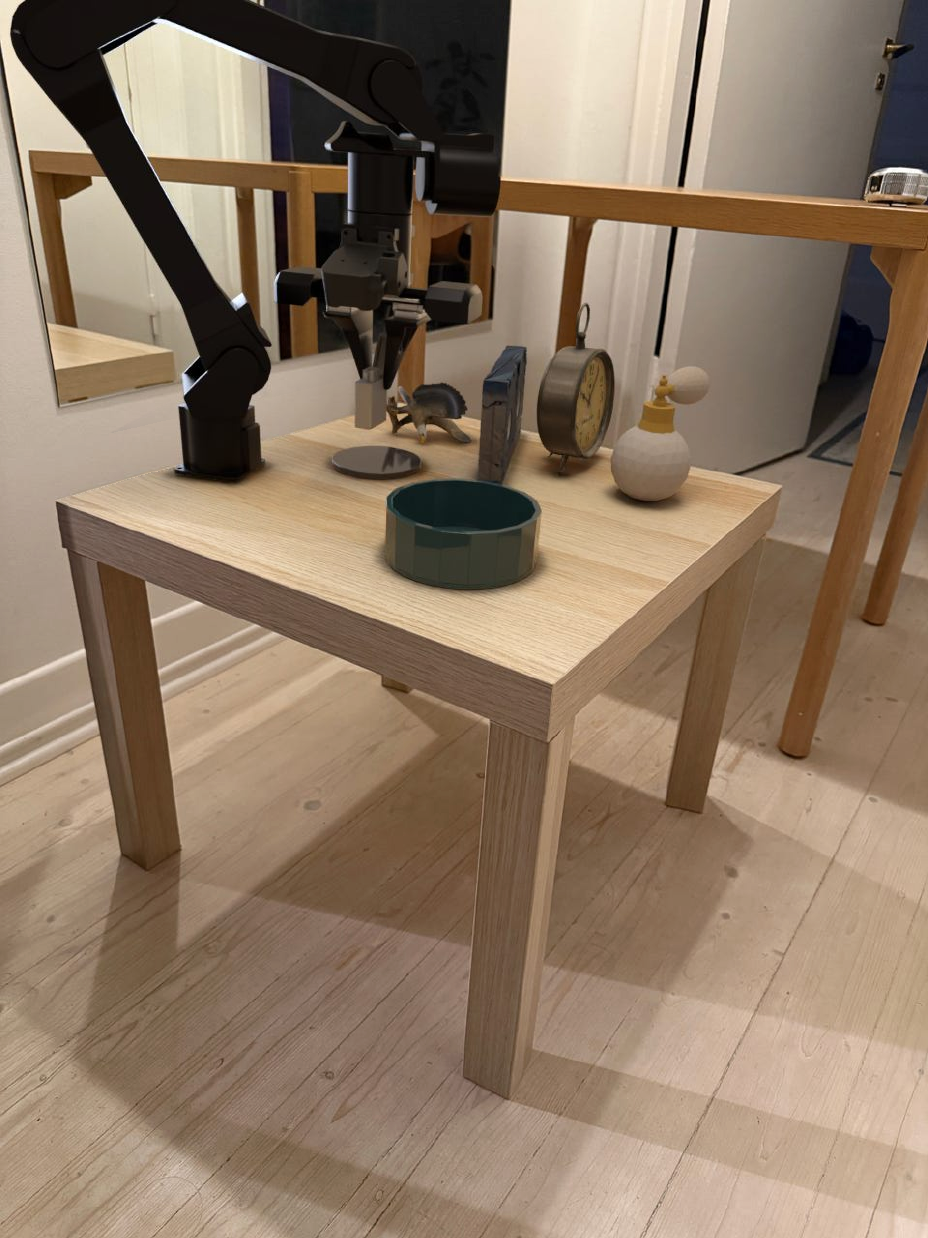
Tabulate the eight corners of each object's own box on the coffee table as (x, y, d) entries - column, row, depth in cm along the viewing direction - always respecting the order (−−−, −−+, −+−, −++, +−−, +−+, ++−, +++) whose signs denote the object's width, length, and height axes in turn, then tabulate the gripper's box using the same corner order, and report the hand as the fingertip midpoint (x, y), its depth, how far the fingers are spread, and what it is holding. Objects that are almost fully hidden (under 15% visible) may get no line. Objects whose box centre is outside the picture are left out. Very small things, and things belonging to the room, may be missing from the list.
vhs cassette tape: (499, 432, 105) (506, 343, 100) (524, 435, 104) (532, 346, 100) (471, 482, 89) (477, 379, 84) (501, 486, 88) (509, 382, 84)
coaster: (317, 471, 89) (317, 465, 89) (351, 446, 97) (351, 441, 96) (404, 484, 87) (405, 478, 87) (432, 457, 95) (432, 452, 94)
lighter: (370, 429, 86) (371, 343, 83) (353, 427, 87) (354, 341, 83) (397, 412, 92) (399, 331, 89) (382, 410, 93) (383, 329, 89)
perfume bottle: (596, 500, 86) (613, 372, 81) (623, 472, 94) (640, 354, 88) (674, 516, 84) (698, 385, 78) (695, 486, 92) (718, 366, 86)
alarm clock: (569, 482, 90) (589, 312, 83) (521, 471, 93) (536, 304, 85) (609, 455, 99) (630, 300, 92) (564, 446, 101) (581, 293, 94)
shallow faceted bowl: (362, 574, 68) (362, 518, 66) (412, 519, 79) (414, 470, 77) (517, 601, 66) (523, 544, 64) (547, 540, 77) (553, 490, 74)
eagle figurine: (384, 438, 96) (468, 428, 95) (379, 373, 97) (463, 362, 96) (397, 457, 103) (475, 448, 103) (392, 397, 104) (470, 388, 103)
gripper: (241, 206, 76) (250, 393, 83) (456, 226, 72) (445, 420, 79) (297, 202, 85) (300, 369, 93) (489, 219, 82) (477, 392, 89)
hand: (376, 387), depth 88 cm, fingers closed on lighter, 2 cm apart
